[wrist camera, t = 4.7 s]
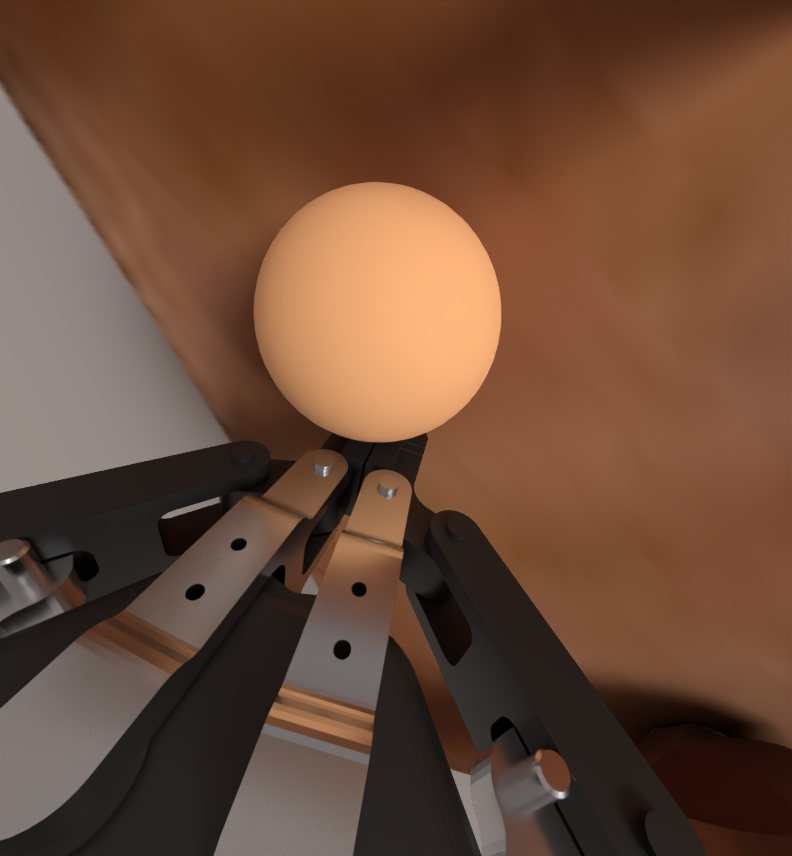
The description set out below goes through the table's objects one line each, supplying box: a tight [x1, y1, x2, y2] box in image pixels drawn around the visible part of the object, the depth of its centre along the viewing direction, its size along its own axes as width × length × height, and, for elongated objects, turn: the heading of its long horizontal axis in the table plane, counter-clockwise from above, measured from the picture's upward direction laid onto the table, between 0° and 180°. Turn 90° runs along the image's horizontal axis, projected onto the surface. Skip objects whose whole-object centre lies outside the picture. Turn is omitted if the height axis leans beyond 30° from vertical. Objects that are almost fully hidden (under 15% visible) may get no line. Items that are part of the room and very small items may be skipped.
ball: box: [254, 182, 501, 442], centre depth 9 cm, size 6×6×6 cm
